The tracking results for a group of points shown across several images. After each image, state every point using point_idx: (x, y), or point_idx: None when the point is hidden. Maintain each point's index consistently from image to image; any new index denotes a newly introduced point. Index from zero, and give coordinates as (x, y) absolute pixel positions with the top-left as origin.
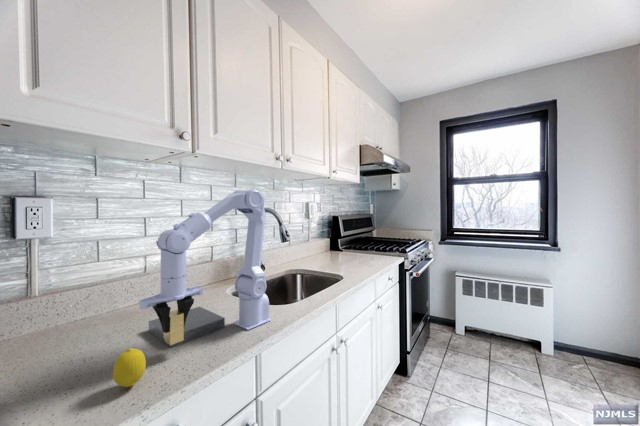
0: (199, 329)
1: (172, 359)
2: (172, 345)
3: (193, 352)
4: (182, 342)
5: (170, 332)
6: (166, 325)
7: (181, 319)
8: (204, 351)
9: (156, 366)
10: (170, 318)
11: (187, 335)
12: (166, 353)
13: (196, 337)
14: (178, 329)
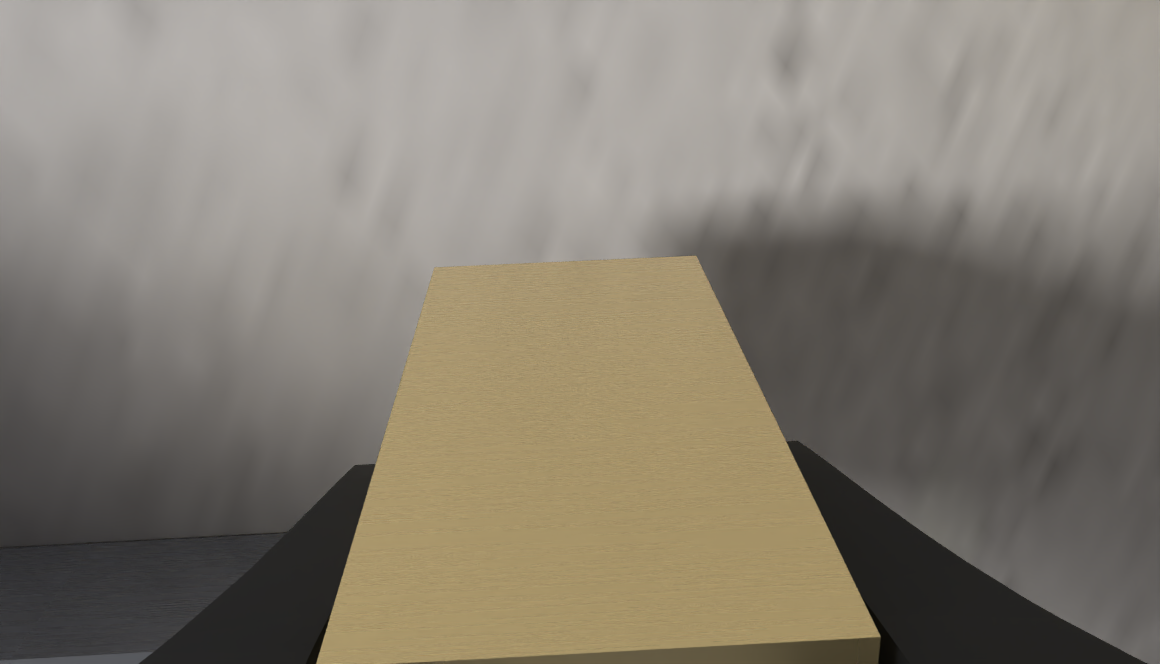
0: (19, 622)
1: (632, 172)
2: None
3: (315, 130)
4: None
5: (742, 360)
6: (876, 517)
7: (434, 521)
8: (156, 12)
9: (863, 153)
10: (857, 596)
11: None
12: None
13: (125, 544)
14: (538, 375)
